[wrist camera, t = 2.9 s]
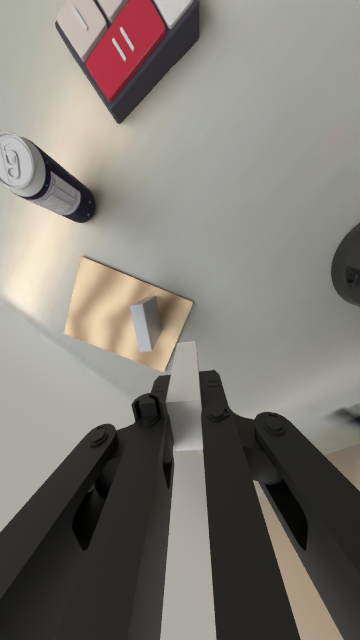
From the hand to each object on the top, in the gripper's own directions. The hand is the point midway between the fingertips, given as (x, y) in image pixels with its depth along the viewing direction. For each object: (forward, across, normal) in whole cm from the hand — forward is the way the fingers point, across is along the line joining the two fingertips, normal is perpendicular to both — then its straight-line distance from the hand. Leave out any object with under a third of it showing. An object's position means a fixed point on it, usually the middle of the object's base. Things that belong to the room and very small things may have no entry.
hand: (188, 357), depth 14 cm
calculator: (+20, +3, -38) cm, 43 cm away
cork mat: (+20, +13, 0) cm, 23 cm away
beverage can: (+20, +16, -20) cm, 32 cm away
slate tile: (+19, +7, 0) cm, 20 cm away
